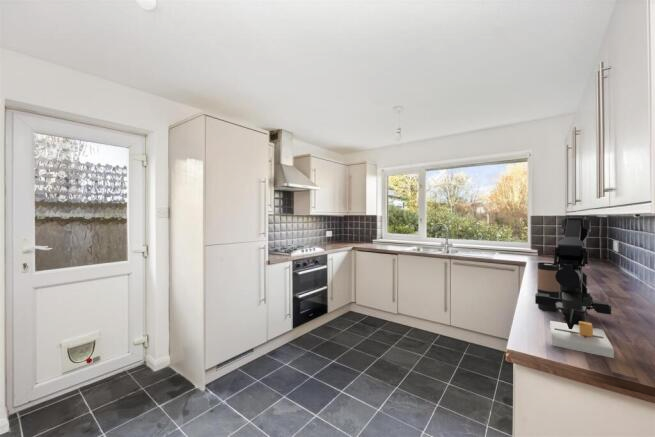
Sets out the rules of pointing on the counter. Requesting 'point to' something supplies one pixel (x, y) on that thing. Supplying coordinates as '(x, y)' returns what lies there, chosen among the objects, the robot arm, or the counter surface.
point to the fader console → (580, 339)
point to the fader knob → (585, 329)
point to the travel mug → (548, 283)
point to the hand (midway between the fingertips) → (570, 328)
